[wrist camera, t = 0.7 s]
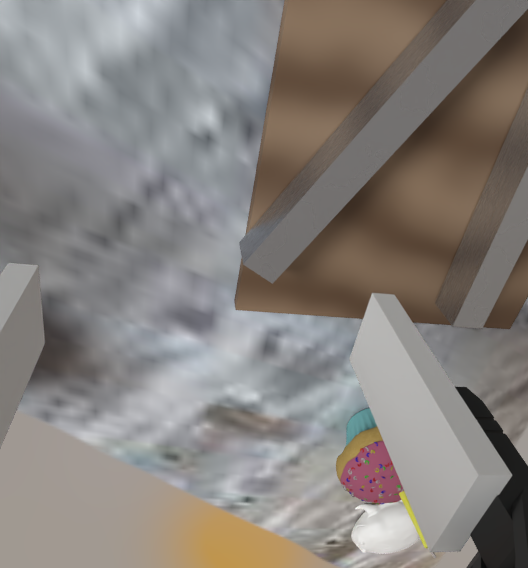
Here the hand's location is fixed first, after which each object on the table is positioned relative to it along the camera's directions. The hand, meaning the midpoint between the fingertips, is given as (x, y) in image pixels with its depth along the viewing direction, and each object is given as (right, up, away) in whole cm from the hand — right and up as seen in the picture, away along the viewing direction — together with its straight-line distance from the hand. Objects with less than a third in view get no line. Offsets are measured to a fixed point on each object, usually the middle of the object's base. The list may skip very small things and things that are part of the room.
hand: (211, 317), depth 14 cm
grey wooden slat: (+7, +10, +14) cm, 19 cm away
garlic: (+15, -25, +40) cm, 49 cm away
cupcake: (+12, -12, +31) cm, 35 cm away
